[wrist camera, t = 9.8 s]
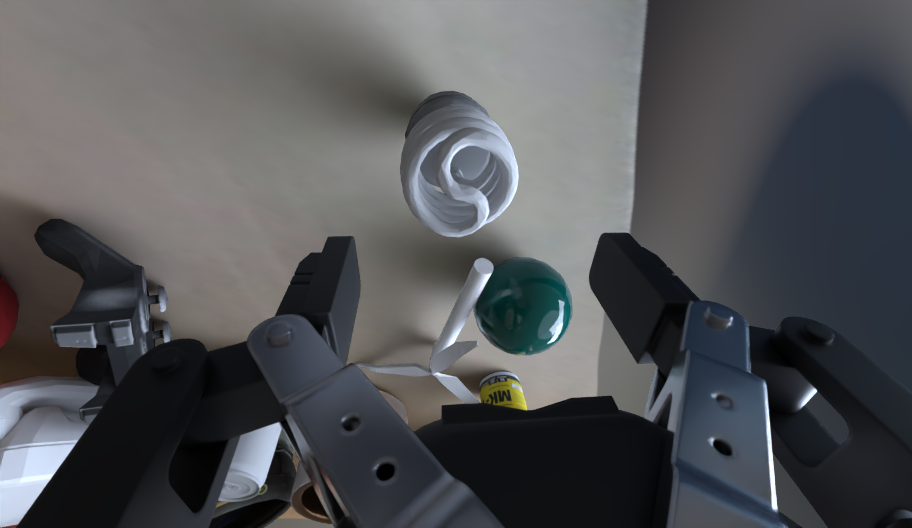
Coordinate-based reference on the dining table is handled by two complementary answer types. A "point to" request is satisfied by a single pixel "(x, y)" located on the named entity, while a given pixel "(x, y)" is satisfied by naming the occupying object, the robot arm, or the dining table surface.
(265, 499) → the boat shoe
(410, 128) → the light bulb
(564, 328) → the sphere
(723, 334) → the robot arm
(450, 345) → the wind turbine
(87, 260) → the game controller
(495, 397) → the supplement bottle
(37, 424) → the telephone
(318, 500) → the planter
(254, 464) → the beverage can
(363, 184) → the dining table surface
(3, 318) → the apple
